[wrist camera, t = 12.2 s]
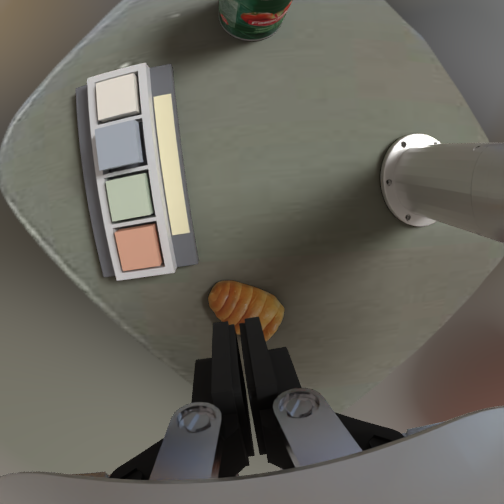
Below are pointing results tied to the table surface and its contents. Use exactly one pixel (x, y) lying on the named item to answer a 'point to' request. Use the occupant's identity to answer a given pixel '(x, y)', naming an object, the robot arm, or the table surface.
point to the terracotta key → (139, 247)
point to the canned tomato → (252, 17)
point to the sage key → (129, 197)
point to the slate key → (118, 145)
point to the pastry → (245, 306)
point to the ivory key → (117, 98)
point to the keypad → (140, 172)
